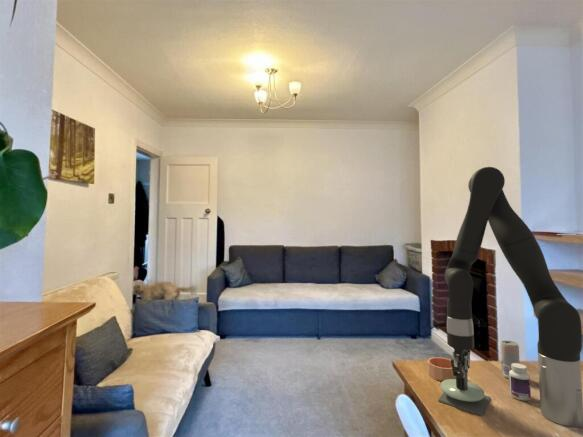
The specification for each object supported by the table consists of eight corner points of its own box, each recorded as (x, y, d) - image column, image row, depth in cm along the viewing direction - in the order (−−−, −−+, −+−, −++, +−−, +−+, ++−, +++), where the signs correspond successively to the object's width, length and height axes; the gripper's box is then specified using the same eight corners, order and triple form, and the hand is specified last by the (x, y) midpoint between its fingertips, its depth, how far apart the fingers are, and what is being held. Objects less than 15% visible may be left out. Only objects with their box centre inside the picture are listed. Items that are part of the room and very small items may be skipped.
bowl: (461, 374, 115) (461, 361, 115) (454, 385, 108) (453, 371, 108) (433, 367, 122) (432, 355, 122) (424, 376, 114) (423, 363, 115)
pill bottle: (534, 402, 96) (533, 369, 97) (515, 400, 98) (513, 368, 98) (525, 393, 102) (523, 362, 102) (506, 391, 103) (505, 361, 103)
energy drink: (514, 373, 115) (513, 340, 116) (523, 380, 110) (522, 345, 110) (499, 373, 116) (497, 340, 116) (507, 380, 110) (506, 345, 111)
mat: (490, 398, 99) (490, 396, 99) (482, 415, 90) (482, 414, 90) (449, 386, 107) (449, 384, 107) (438, 401, 98) (438, 399, 98)
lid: (487, 389, 100) (487, 370, 100) (479, 406, 91) (479, 385, 91) (447, 378, 107) (446, 360, 108) (436, 392, 98) (435, 373, 99)
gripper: (467, 339, 92) (470, 400, 91) (478, 327, 102) (480, 381, 102) (440, 334, 97) (442, 391, 96) (453, 323, 107) (455, 375, 107)
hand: (462, 386), depth 99 cm, fingers closed on lid, 3 cm apart
